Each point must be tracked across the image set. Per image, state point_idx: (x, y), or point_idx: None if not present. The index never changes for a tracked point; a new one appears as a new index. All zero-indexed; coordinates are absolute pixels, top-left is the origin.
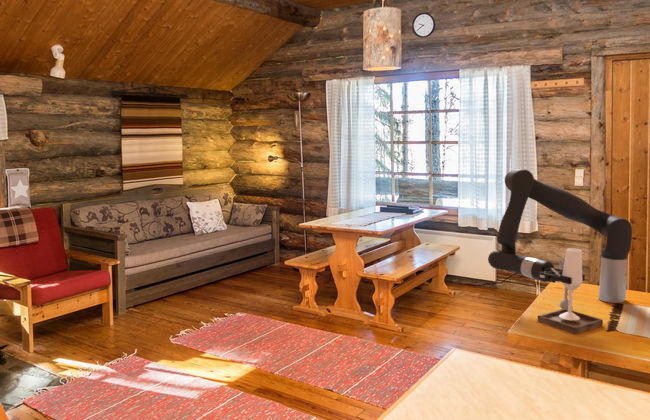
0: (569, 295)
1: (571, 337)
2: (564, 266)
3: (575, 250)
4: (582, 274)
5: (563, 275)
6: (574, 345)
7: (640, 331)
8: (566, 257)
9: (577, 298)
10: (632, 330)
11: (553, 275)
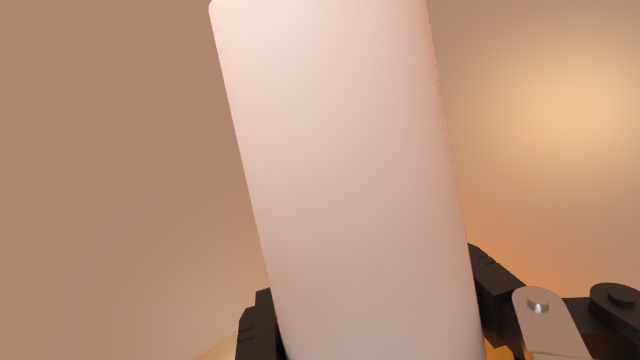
0: None
1: (491, 348)
2: (461, 211)
3: (228, 34)
4: (262, 297)
5: (476, 297)
6: None
7: (223, 344)
8: (439, 82)
9: None
10: (233, 356)
11: (632, 295)
